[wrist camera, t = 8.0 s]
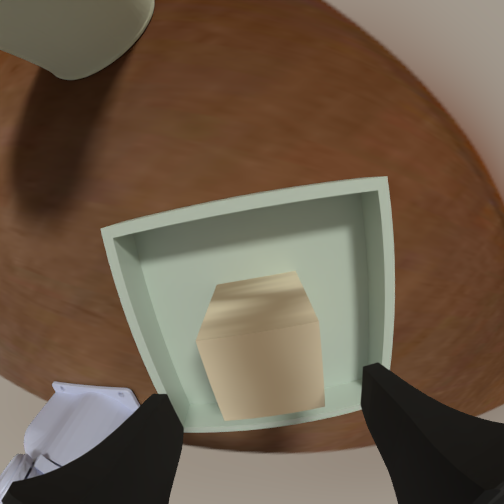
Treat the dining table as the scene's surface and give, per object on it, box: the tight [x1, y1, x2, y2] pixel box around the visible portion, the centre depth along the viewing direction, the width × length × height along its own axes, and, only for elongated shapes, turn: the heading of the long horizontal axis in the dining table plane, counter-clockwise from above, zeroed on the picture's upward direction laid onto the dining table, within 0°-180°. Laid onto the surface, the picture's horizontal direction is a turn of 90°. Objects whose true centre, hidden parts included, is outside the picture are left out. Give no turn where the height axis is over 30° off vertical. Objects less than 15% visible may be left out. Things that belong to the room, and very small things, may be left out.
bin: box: [101, 176, 395, 433], centre depth 15 cm, size 14×14×3 cm
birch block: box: [196, 271, 325, 421], centre depth 13 cm, size 4×4×6 cm
